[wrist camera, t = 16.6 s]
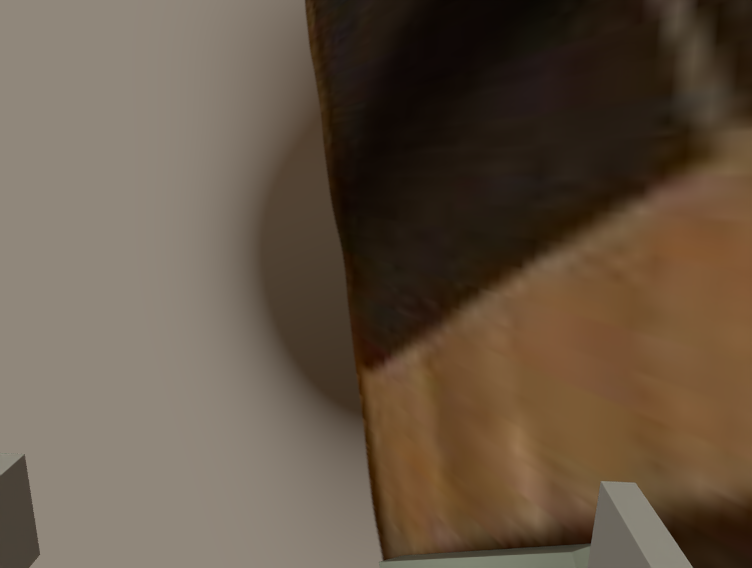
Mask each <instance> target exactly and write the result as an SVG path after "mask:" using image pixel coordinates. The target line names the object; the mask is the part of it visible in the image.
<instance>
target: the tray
mask: <svg viewBox="0 0 752 568" xmlns="http://www.w3.org/2000/svg"><path fill="white" fill-rule="evenodd" d="M590 547H591V544H579V545H563V546H547V547H531V548H515V549H500V550H484V551H468V552H452V553H436V554H420V555H404V556H400V557H396V558H392V559H389V560H385V561H381V562H379V565H380V568H587V566H588V560H589V554H590Z"/></svg>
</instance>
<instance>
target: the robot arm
mask: <svg viewBox="0 0 752 568" xmlns="http://www.w3.org/2000/svg"><path fill="white" fill-rule="evenodd" d="M39 555H40V551H39V545H38V538H37V532H36V525H35V518H34V512H33V505H32V499H31V493H30V486H29V479H28V473H27V466H26V460H25V454H7V453H0V568H29V567H30V566H31V565H32V563H33V562H34V561H35V560H36V559H37V558H38V556H39ZM587 568H693V567H692V566H691V564H690V563H689V561H688V560H687V558H686V557H685V555H684V554H683V552H682V551H681V549H680V548H679V546H678V545H677V543H676V542H675V541H674V539H673V538H672V536H671V535H670V533H669V532H668V530H667V529H666V527H665V526H664V524H663V523H662V521H661V520H660V518H659V517H658V515H657V514H656V512H655V511H654V509H653V508H652V506H651V505H650V504H649V502H648V501H647V499H646V498H645V496H644V495H643V493H642V492H641V490H640V489H639V487H638V486H637V484H636V483H629V482H608V481H601V484H600V490H599V497H598V503H597V509H596V516H595V522H594V528H593V535H592V541H591V547H590V554H589V560H588V566H587Z"/></svg>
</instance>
